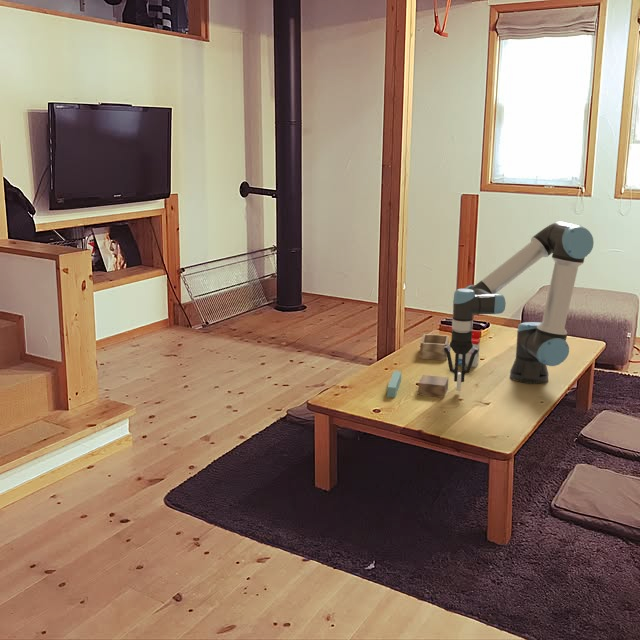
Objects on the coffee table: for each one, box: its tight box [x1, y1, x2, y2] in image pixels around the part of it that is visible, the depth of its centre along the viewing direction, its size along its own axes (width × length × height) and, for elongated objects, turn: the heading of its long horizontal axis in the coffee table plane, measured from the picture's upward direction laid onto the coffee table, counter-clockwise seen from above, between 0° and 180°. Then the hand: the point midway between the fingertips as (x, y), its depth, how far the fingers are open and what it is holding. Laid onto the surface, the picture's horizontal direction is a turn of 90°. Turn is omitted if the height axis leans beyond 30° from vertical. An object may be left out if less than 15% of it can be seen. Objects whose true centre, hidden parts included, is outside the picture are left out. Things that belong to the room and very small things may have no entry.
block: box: [417, 374, 449, 398], centre depth 302 cm, size 10×10×5 cm
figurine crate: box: [419, 333, 450, 361], centre depth 350 cm, size 12×16×7 cm
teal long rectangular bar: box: [386, 370, 402, 399], centre depth 305 cm, size 3×20×4 cm, turn 168°
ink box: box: [458, 330, 481, 368], centre depth 335 cm, size 8×5×15 cm, turn 68°
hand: (458, 389), depth 300 cm, fingers closed
